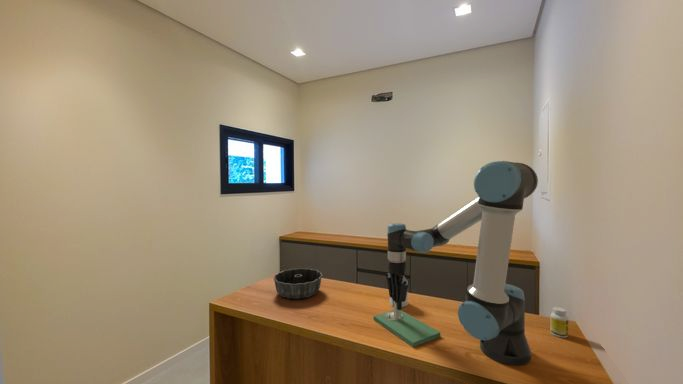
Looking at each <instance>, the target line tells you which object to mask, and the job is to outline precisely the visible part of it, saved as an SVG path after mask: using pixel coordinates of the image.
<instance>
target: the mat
mask: <svg viewBox="0 0 683 384" xmlns="http://www.w3.org/2000/svg"><path fill="white" fill-rule="evenodd" d="M393 312H394V309H393V310H389V311H386V312H383V313H379V314H376V315H373V321H374V322H376V323H377V324H379V325H381V326H382V327H384V329H386V330H387V331H389V332H391V333H392V334H393V335H395V336H397V337H398V338H399V339H400V340H402V341H404V342H405V343H406V344H408V345H409V346H410V347H412V348H414V347H417V346H420V345H422V344H425V343H428V342H430V341H432V340H435V339H437V338H441V331H439V330H437V329H435V328H434V327H432V326H430V325H428V324H426V323H425V322H423V321H421V320H420V319H417V318H416V317H414V316H412V315H410V314H409V313H407V312H405V311H403V310H401V316H400V317H399V318H398V319H391V318H390V315H391V313H393Z"/></svg>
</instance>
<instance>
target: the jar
mask: <svg viewBox="0 0 683 384" xmlns="http://www.w3.org/2000/svg"><path fill="white" fill-rule="evenodd" d="M388 298H389V300H388V301H389V304H390V305H391V307H393V300H392V298H391V297H390V296H389V297H388ZM408 300H409V299H408V294H407V295H406V301H404V302H402V308H404V307H408Z"/></svg>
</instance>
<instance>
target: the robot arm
mask: <svg viewBox="0 0 683 384" xmlns="http://www.w3.org/2000/svg"><path fill="white" fill-rule="evenodd" d="M538 183H539V178H538V175H537V172H536V171H535V170H534V169H533V168H532V167H531V166H529V165H527V164H525V163H521V162H513V161H507V160H501V161H500V160H497V161H491V162H489V163H487V164H486V163H485V164H484V165H483V166H482V167H481V168H479V169H478V170H477V172H476V173H475V176H474V178H473V189H474V192H475V193H476V194H477V196H476V197H475V198H474V199H472V200H471V201H469V202H468V203H466V204H465V205H463V206H462V207H460V208H459V209H458V210H455V212H453V213H452V214H450V215H449V216H447V217H446V218H445V219H443V220H442V221H440V222H439V223H438V224H436V225H435V226H433V227H432V228H428V229H422V230H409V229H407V227H406V224H404V223H398V222H397V223H395V222H394V223H389V224H388V226H387V232H386V233H387V269H388V271H389V272H388V273H385V278H386V282H387V288H388V295H389V296H390V297H391V298H392V300H393V306H392V307H393V310H394V317H396V318H397V317H400V316H401V311H402V308H403V307H402V302H404V301H406V295H407V296H408V287H409V285H410V283H411V282H410V280H409V279H407V278H406V273H405V272H406V271H407V261H406V260H407V250H409V251H410V250H411V251H415V252H418V253H428V252H430V251H431V250H432V249H433V248H437V247H442V246H444V245H447V244H448V243H449V242H450V241H451V239H453V238H455V237H456V236H458V235H460V234H461V233H462V232H465V231H466V230H468V229H469V228H471V227H472V226H474V225H475V224H477V223H479V222H480V229H479V230H480V231H479V237H478V245H477V251H476V252H477V253H476V259H475V260H476V261H475V268H474V269H475V270H474V275H473V283H472V284H470V285H468V286H467V288H466V289H467V290H466V295H465V301H463V302H461V304H460V305H459V306H458V309H457V315H458V316H457V317H458V321H459V323H460V325H462V327H463V329H464V330H465V331H466V333H468V335H470V336H471V337H473V338H474V339H477V340H479V348H480V349H481V350H480V351H481V352H483V353H484V355H486V356H487V357H489V358H490V359H492V360H494V361H496V362H499V363H501V364H506V365H512V366H525V365H527V364H529V363H530V362H531V360H532V351H531V348H530V345H529V342H528V339H527V337H526V334H525V333H526V332H525V326H526V325H525V323H526V322H525V317H526V316H525V315H526V313H525V312H526V311H525V310H526V309H525V306H526V305H525V303H526V298H525V293H524V290H523V289H522V288H521V287H518V286H515V285H513V284H508V283H507V276H508V275H507V274H508V268H509V261H510V254H511V247H512V239H513V234H514V233H513V232H514V225H515V219H516V215H517V214H518V213H520V212H522V211H523V209H524V208H523V207H524V201H525V199H527V198H528V197H530V196H531V195H532V194H533V193H534V192H536V191H535V190H536V189H537V187H538Z"/></svg>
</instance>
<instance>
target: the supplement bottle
mask: <svg viewBox="0 0 683 384" xmlns="http://www.w3.org/2000/svg"><path fill="white" fill-rule="evenodd" d="M549 322H550V334H551V335H553V336H555V337H557V338H563V339H564V338H565V339H566V338H567V337H569V317H568V316H567V310H566V309H565V308H563V307H559V306H554V307H552V312H551V313H550V321H549Z"/></svg>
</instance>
